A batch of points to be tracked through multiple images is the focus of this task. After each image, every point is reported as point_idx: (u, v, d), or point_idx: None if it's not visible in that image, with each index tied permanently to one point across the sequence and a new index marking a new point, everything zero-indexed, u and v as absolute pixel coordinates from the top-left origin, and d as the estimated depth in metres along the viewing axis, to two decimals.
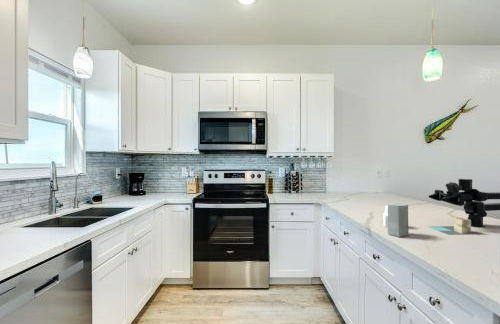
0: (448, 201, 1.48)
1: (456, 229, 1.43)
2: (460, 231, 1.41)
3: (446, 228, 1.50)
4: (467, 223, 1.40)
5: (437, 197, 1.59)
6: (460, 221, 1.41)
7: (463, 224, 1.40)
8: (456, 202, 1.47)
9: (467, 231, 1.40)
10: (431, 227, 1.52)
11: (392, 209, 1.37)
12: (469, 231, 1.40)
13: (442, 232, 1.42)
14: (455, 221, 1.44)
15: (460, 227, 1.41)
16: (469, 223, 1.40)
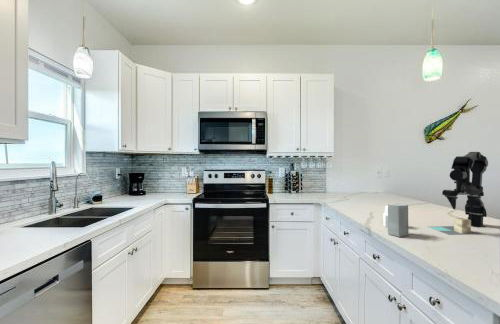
0: None
1: (456, 229, 1.43)
2: (460, 231, 1.41)
3: (446, 228, 1.50)
4: (467, 223, 1.40)
5: None
6: (460, 221, 1.41)
7: (463, 224, 1.40)
8: None
9: (467, 231, 1.40)
10: (431, 227, 1.52)
11: (392, 209, 1.37)
12: (469, 231, 1.40)
13: (442, 232, 1.42)
14: (455, 221, 1.44)
15: (460, 227, 1.41)
16: (469, 223, 1.40)
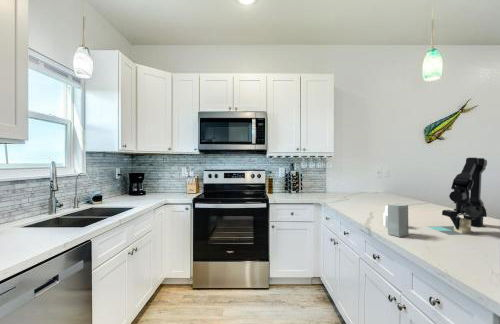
0: None
1: (456, 229, 1.43)
2: (460, 231, 1.41)
3: (446, 228, 1.50)
4: (467, 223, 1.40)
5: None
6: (460, 221, 1.41)
7: (463, 224, 1.40)
8: None
9: (467, 231, 1.40)
10: (431, 227, 1.52)
11: (392, 209, 1.37)
12: (469, 231, 1.40)
13: (442, 232, 1.42)
14: None
15: (460, 227, 1.41)
16: (469, 223, 1.40)
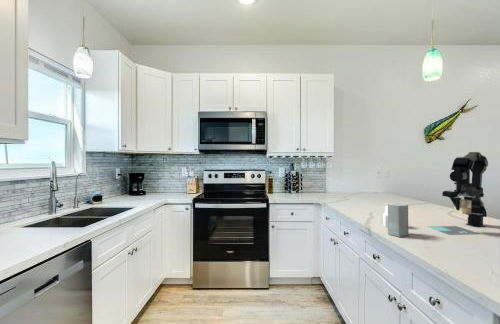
0: None
1: (456, 210, 1.43)
2: (460, 212, 1.41)
3: (446, 228, 1.50)
4: (468, 203, 1.40)
5: None
6: (460, 201, 1.41)
7: (463, 204, 1.40)
8: None
9: (467, 211, 1.40)
10: (431, 227, 1.52)
11: (392, 209, 1.37)
12: (469, 211, 1.40)
13: (442, 232, 1.42)
14: None
15: (460, 208, 1.41)
16: (469, 203, 1.40)
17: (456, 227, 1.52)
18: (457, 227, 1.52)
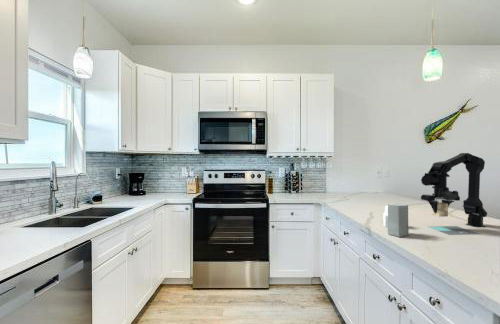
0: None
1: (434, 213, 1.50)
2: (438, 214, 1.47)
3: (446, 228, 1.50)
4: (445, 206, 1.47)
5: None
6: (438, 205, 1.47)
7: (440, 208, 1.46)
8: None
9: (444, 214, 1.47)
10: (431, 227, 1.52)
11: (392, 209, 1.37)
12: (446, 214, 1.47)
13: (442, 232, 1.42)
14: None
15: (438, 211, 1.47)
16: (446, 207, 1.47)
17: (456, 227, 1.52)
18: (457, 227, 1.52)
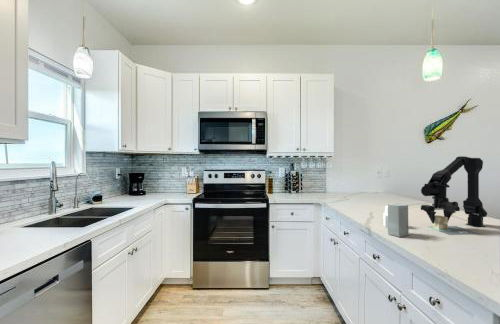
0: None
1: (434, 226, 1.50)
2: (437, 228, 1.47)
3: None
4: (444, 220, 1.47)
5: None
6: (437, 218, 1.47)
7: (440, 221, 1.47)
8: None
9: (444, 228, 1.47)
10: (431, 227, 1.52)
11: (392, 209, 1.37)
12: (446, 228, 1.47)
13: (442, 232, 1.42)
14: None
15: (437, 224, 1.47)
16: (446, 220, 1.47)
17: (456, 227, 1.52)
18: (457, 227, 1.52)
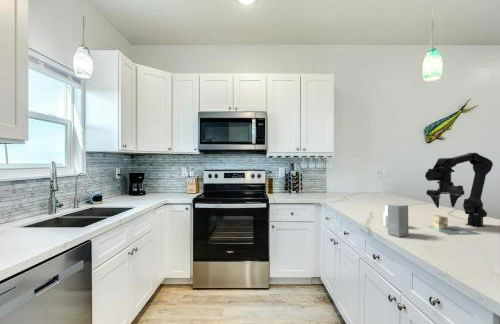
0: None
1: (434, 226, 1.50)
2: (437, 228, 1.47)
3: None
4: (444, 220, 1.47)
5: None
6: (437, 218, 1.47)
7: (440, 221, 1.47)
8: None
9: (444, 228, 1.47)
10: (431, 227, 1.52)
11: (392, 209, 1.37)
12: (446, 228, 1.47)
13: (442, 232, 1.42)
14: (433, 219, 1.51)
15: (437, 224, 1.47)
16: (446, 220, 1.47)
17: (456, 227, 1.52)
18: (457, 227, 1.52)
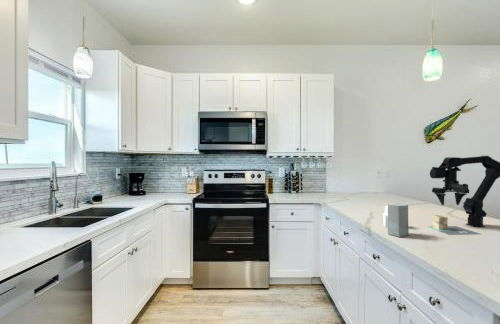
0: None
1: (434, 226, 1.50)
2: (437, 228, 1.47)
3: None
4: (444, 220, 1.47)
5: None
6: (437, 218, 1.47)
7: (440, 221, 1.47)
8: None
9: (444, 228, 1.47)
10: (431, 227, 1.52)
11: (392, 209, 1.37)
12: (446, 228, 1.47)
13: (442, 232, 1.42)
14: (433, 219, 1.51)
15: (437, 224, 1.47)
16: (446, 220, 1.47)
17: (456, 227, 1.52)
18: (457, 227, 1.52)
